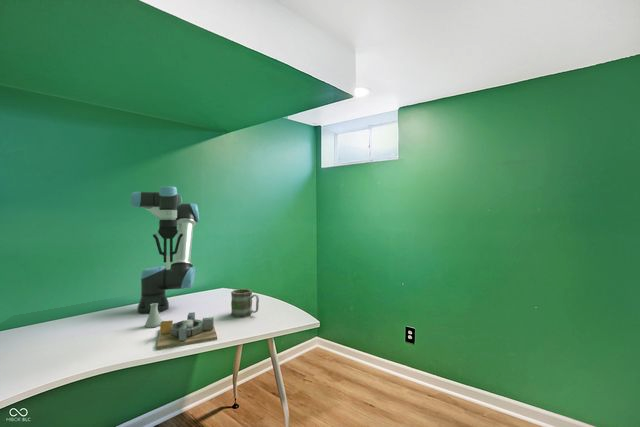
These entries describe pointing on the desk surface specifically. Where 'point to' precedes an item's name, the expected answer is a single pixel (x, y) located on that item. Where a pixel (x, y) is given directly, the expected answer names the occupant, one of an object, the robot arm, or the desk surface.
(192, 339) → the board
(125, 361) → the desk surface
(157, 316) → the flask
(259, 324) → the desk surface
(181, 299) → the desk surface
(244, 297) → the mug
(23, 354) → the desk surface
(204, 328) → the ring nut
